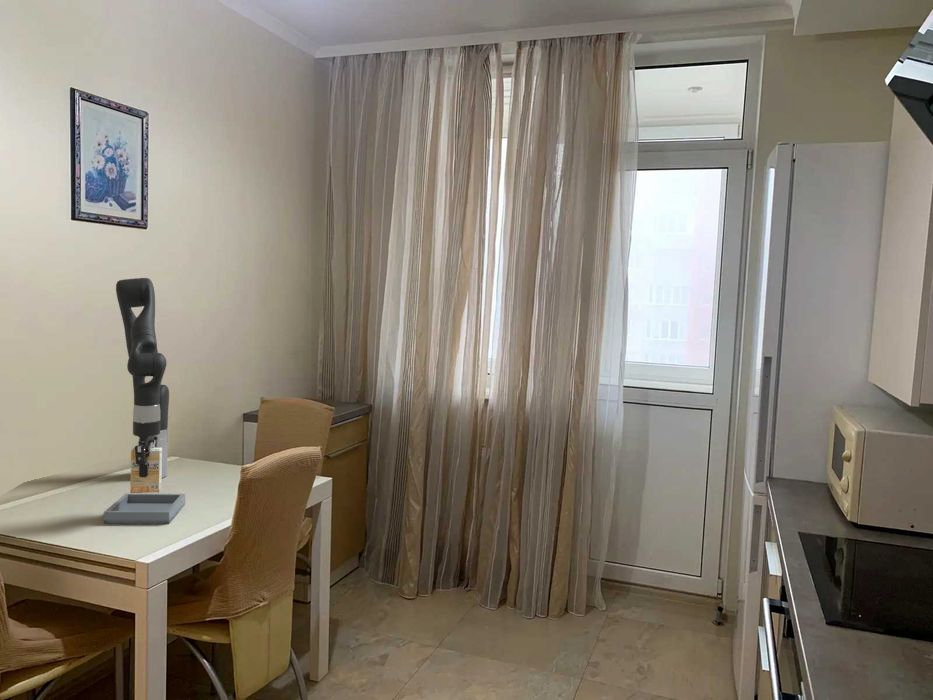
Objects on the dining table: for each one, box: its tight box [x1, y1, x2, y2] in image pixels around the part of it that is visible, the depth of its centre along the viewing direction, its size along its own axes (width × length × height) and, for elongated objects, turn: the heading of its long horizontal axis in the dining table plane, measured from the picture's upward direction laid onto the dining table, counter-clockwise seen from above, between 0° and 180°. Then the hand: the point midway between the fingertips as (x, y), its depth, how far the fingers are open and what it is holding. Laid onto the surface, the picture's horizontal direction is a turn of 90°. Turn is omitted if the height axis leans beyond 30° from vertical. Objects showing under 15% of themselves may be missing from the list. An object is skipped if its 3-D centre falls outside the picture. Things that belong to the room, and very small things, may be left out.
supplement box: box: [129, 446, 163, 494], centre depth 214 cm, size 8×5×13 cm, turn 105°
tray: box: [103, 492, 186, 525], centre depth 215 cm, size 18×18×4 cm
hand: (146, 474), depth 214 cm, fingers closed on supplement box, 5 cm apart
